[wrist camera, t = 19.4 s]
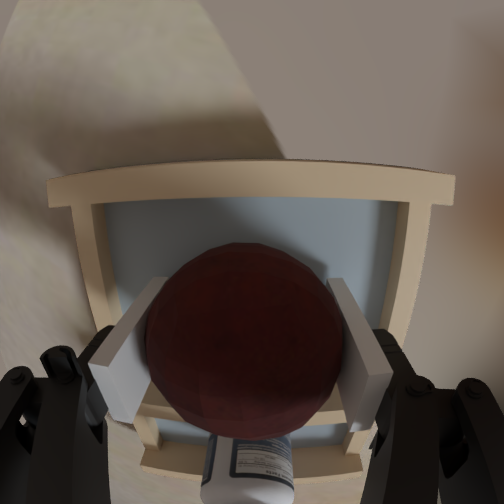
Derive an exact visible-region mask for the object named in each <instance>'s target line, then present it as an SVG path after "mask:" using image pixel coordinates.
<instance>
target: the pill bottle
mask: <svg viewBox="0 0 504 504" xmlns="http://www.w3.org/2000/svg"><path fill="white" fill-rule="evenodd" d="M200 496H201V499H202V501H203V503H204V504H292V503H293V500H294V482H293V467H292V453H291V439H290V433H289V434H286V435H284V436H282V437H278V438H271V439H265V440H257V441H250V440H241V439H234V438H226V437H222V436H218V435H215V434H212V433H210V435H209V440H208V446H207V452H206V458H205V464H204V470H203V476H202V483H201V492H200Z"/></svg>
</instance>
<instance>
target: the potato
mask: <svg viewBox="0 0 504 504" xmlns="http://www.w3.org/2000/svg"><path fill="white" fill-rule="evenodd" d="M144 340H145V347H146V354H147V360H148V366H149V372H150V377H151V380H152V382H153V383H154V384H155V386H156V387H157V388H158V390H159V391H160V392H161V394H162V395H163V396H164V398H165V399H166V400H167V402H168V403H169V404H170V405H171V406H172V408H173V409H174V410H175V411H176V412H177V413H178V414H179V415H180V416H181V417H182V418H183V420H184V421H185V422H187V423H190V424H192V425H194V426H196V427H198V428H201V429H203V430H205V431H207V432H210V433H212V434H215V435H218V436H222V437H226V438H234V439H241V440H250V441H257V440H265V439H271V438H278V437H282V436H284V435H286V434H289V433H291V432H293V431H295V430H298V429H300V428H302V427H303V426H304V425H305V424H306V423H307V422H308V421H309V420H310V419H311V418H312V417H313V416H314V414H315V413H316V412H317V411H318V410H319V409H320V408H321V407H322V406H323V405H324V403H325V402H326V401H327V400H328V399H329V398H330V396H331V393H332V391H333V388H334V386H335V383H336V381H337V378H338V376H339V373H340V371H341V360H342V318H341V315H340V313H339V310H338V307H337V304H336V302H335V299H334V297H333V296H332V294H331V293H330V292H329V290H328V289H327V288H326V286H325V285H324V284H323V283H322V282H321V280H320V279H319V278H318V277H317V276H316V274H315V273H314V272H313V271H312V270H311V268H310V267H308V266H306V265H305V264H303V263H302V262H300V261H298V260H297V259H295V258H294V257H292V256H290V255H289V254H287V253H285V252H284V251H282V250H279V249H276V248H273V247H270V246H267V245H264V244H261V243H240V242H232V243H229V244H225V245H222V246H218V247H215V248H212V249H209V250H207V251H205V252H204V253H202V254H200V255H199V256H197V257H195V258H194V259H192V260H190V261H189V262H187V263H186V264H184V265H183V266H182V267H181V268H180V269H179V270H178V271H177V272H176V273H175V274H174V275H173V276H172V277H171V278H170V279H169V280H168V281H167V282H166V283H165V285H164V286H163V288H162V290H161V291H160V293H159V294H158V296H157V298H156V299H155V301H154V303H153V305H152V307H151V309H150V311H149V313H148V319H147V325H146V331H145V337H144Z"/></svg>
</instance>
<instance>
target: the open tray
mask: <svg viewBox="0 0 504 504" xmlns="http://www.w3.org/2000/svg"><path fill="white" fill-rule="evenodd" d="M46 186H47V196H48V205H49V208H54V207H64V206H71V208H72V216H73V223H74V230H75V236H76V242H77V248H78V253H79V259H80V264H81V268H82V273H83V278H84V282H85V286H86V290H87V294H88V298H89V302H90V306H91V310H92V313H93V317H94V321H95V324H96V327H97V331H98V332H99V331H100V330H101V329H103V328H104V327H106V326H108V325H116V324H117V323H118V321H119V320H120V319H121V317H122V316H123V315H124V314H125V312H126V311H127V310H128V308H129V307H130V306H131V305H132V303H133V302H134V301H135V300H136V298H137V297H138V296H139V294H140V293H141V292H142V291H143V289H144V288H145V287H146V286H147V285H148V283H149V282H150V281H151V280H152V278H153V277H154V276H155V277H169V279H170V278H171V277H172V276H173V275H174V274H175V273H176V272H177V271H178V270H179V269H180V268H181V267H182V266H183V265H184V264H186V263H187V262H189V261H190V260H192V259H194V258H195V257H197V256H199V255H200V254H202V253H204V252H205V251H207V250H209V249H212V248H215V247H218V246H222V245H225V244H229V243H232V242H240V243H261V244H264V245H267V246H270V247H273V248H276V249H279V250H282V251H284V252H285V253H287V254H289V255H290V256H292V257H294V258H295V259H297V260H298V261H300V262H302V263H303V264H305V265H306V266H308V267H310V268H311V270H312V271H313V272H314V273H315V274H316V276H317V277H318V278H319V279H320V280H321V282H322V283H323V284H324V285H325V286H326V280H327V278H343V280H344V281H345V283H346V285H347V286H348V288H349V290H350V292H351V293H352V295H353V297H354V299H355V301H356V302H357V304H358V306H359V308H360V310H361V311H362V313H363V315H364V317H365V319H366V320H367V322H368V324H369V326H370V328H371V329H385V330H387V331H388V332H389V333H391V334H392V335H393V336H394V338H395V339H396V341H397V342H398V345H399V346H400V347H401V349H402V347H403V344H404V340H405V337H406V334H407V330H408V327H409V323H410V319H411V316H412V311H413V308H414V304H415V300H416V295H417V291H418V286H419V281H420V277H421V272H422V267H423V261H424V255H425V250H426V244H427V237H428V230H429V222H430V214H431V204H440V205H451V206H452V205H453V200H454V188H455V176H454V175H449V174H445V173H439V172H434V171H429V170H423V169H418V168H410V167H402V166H393V165H383V164H372V163H359V162H346V161H345V162H344V161H328V160H302V159H226V160H201V161H184V162H169V163H157V164H146V165H136V166H126V167H118V168H110V169H102V170H95V171H88V172H82V173H77V174H72V175H67V176H63V177H58V178H53V179H49V180H46ZM374 422H375V421H374ZM373 424H374V423H373ZM133 425H134V427H135V429H136V431H137V433H138V435H139V437H140V439H141V441H142V443H143V445H144V447H145V452H144V455H143V457H142V460H141V463H140V466H141V468H142V469H143V471H144V472H147V473H152V474H157V475H162V476H168V477H173V478H179V479H186V480H193V481H201V482H202V476H203V470H204V464H205V458H206V452H207V446H208V440H209V435H210V432H207V431H205V430H203V429H201V428H198V427H196V426H194V425H192V424H190V423H187V422H185V421H184V420H183V418H182V417H181V416H180V415H179V414H178V413H177V412H176V411H175V410H174V409H173V408H172V406H171V405H170V404H169V403H168V402H167V400H166V399H165V398H164V396H163V395H162V394H161V392H160V391H159V390H158V388H157V387H156V386H155V384H154V383H153V382H152V380H151V381H150V383H149V386H148V388H147V390H146V392H145V395H144V397H143V399H142V402H141V404H140V406H139V408H138V411H137V413H136V415H135V418H134V420H133ZM372 426H373V425H372ZM371 429H372V427H371ZM370 431H371V430H364V431H357V432H349V429H348V425H347V421H346V417H345V413H344V409H343V405H342V401H341V397H340V393H339V390H338V386H337V382H336V383H335V386H334V388H333V391H332V393H331V396H330V398H329V399H328V400H327V401H326V402H325V403H324V405H323V406H322V407H321V408H320V409H319V410H318V411H317V412H316V413H315V414H314V416H313V417H312V418H311V419H310V420H309V421H308V422H307V423H306V424H305V425H304V426H303V427H302V428H300V429H298V430H295V431H293V432H291V433H290V439H291V453H292V467H293V482H294V485H296V484H311V483H322V482H331V481H339V480H347V479H353V478H359V477H360V475H361V474H362V472H363V468H362V463H361V459H360V455H359V453H360V451H361V449H362V447H363V445H364V443H365V441H366V439H367V437H368V435H369V433H370Z"/></svg>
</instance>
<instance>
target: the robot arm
mask: <svg viewBox="0 0 504 504" xmlns="http://www.w3.org/2000/svg"><path fill="white" fill-rule="evenodd" d="M168 280H169V277H155V276H154V277H153V278H152V280H151V281H150V282H149V283H148V285H147V286H146V287H145V288H144V289H143V291H142V292H141V293H140V294H139V296H138V297H137V298H136V300H135V301H134V302H133V303H132V305H131V306H130V307H129V308H128V310H127V311H126V312H125V314H124V315H123V316H122V317H121V319H120V320H119V321H118V323H117V324H116V325H108V326H106V327H104V328H103V329H101V330H100V331H99V332H98V333H97V334H96V335H95V337H94V338H93V340H92V341H91V342H90V343H89V344H88V346H87V347H86V348H85V349H84V351H83V352H82V353H81V355H80V356H79V357H78V358H77V357H76V355H75V352H74V351H73V349H72V348H70V347H68V346H61V345H60V346H55V347H52V348H50V349H48V350H46V351H45V352H44V353H43V354H42V355H41V357H40V360H41V362H42V365H43V367H44V369H45V371H46V373H47V375H48V377H49V378H35V377H34V375H33V373H32V371H31V370H30V369H29V368H28V367H25V366H18V367H14V368H13V369H11V370H9V371H8V372H7V373H6V374H5V375H4V377H3V379H2V380H1V381H0V504H111V500H110V488H109V473H108V426H107V422H106V420H105V418H104V417H105V415H106V413H107V411H108V410H109V412H110V414H111V416H112V418H113V420H116V421H121V422H125V423H130V424H132V423H133V420H134V418H135V415H136V413H137V411H138V408H139V406H140V404H141V402H142V399H143V397H144V395H145V392H146V390H147V388H148V386H149V383H150V381H151V377H150V372H149V366H148V360H147V354H146V347H145V340H144V337H145V331H146V325H147V319H148V313H149V311H150V309H151V307H152V305H153V303H154V301H155V299H156V298H157V296H158V294H159V293H160V291H161V290H162V288H163V286H164V285H165V283H166V282H167V281H168ZM326 288H327V289H328V290H329V292H330V293H331V294H332V296H333V297H334V299H335V302H336V304H337V307H338V310H339V313H340V315H341V318H342V360H341V371H340V373H339V376H338V378H337V381H336V382H337V386H338V390H339V393H340V397H341V401H342V405H343V409H344V413H345V417H346V421H347V425H348V429H349V432H357V431H364V430H371V427H372V425H373V423H374V421H376V424H377V427H378V430H377V432H376V434H375V437H374V439H373V441H372V443H371V445H370V447H369V449H372V448H373V449H372V454H371V459H370V464H369V469H368V473H367V478H366V482H365V486H364V491H363V494H362V498H361V502H360V504H437V498H438V488H439V492H440V498H441V503H442V504H504V415H503V413H502V411H501V409H500V407H499V405H498V403H497V402H496V400H495V398H494V396H493V394H492V392H491V391H490V389H489V387H488V386H487V385H486V384H485V383H484V382H482V381H481V380H478V379H475V378H466V379H464V380H462V381H461V382H460V383H459V384H458V386H457V388H456V390H455V389H437V388H435V386H434V384H433V383H432V382H431V381H430V380H429V379H427V378H425V377H423V376H418V375H416V373H415V371H414V370H413V368H412V366H411V364H410V363H409V361H408V359H407V358H406V356H405V354H404V353H403V352H402V349H401V347H400V346H399V345H398V342H397V341H396V339H395V338H394V336H393V335H392V334H391V333H389V332H388V331H387V330H385V329H371V328H370V326H369V324H368V322H367V320H366V319H365V317H364V315H363V313H362V311H361V310H360V308H359V306H358V304H357V302H356V301H355V299H354V297H353V295H352V293H351V292H350V290H349V288H348V286H347V285H346V283H345V281H344V280H343V278H327V280H326ZM22 415H23V417H24V418H25V420H26V423H25V424H24V425H22V424H21V423H20V421H19V420H20V418H21V416H22Z"/></svg>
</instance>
